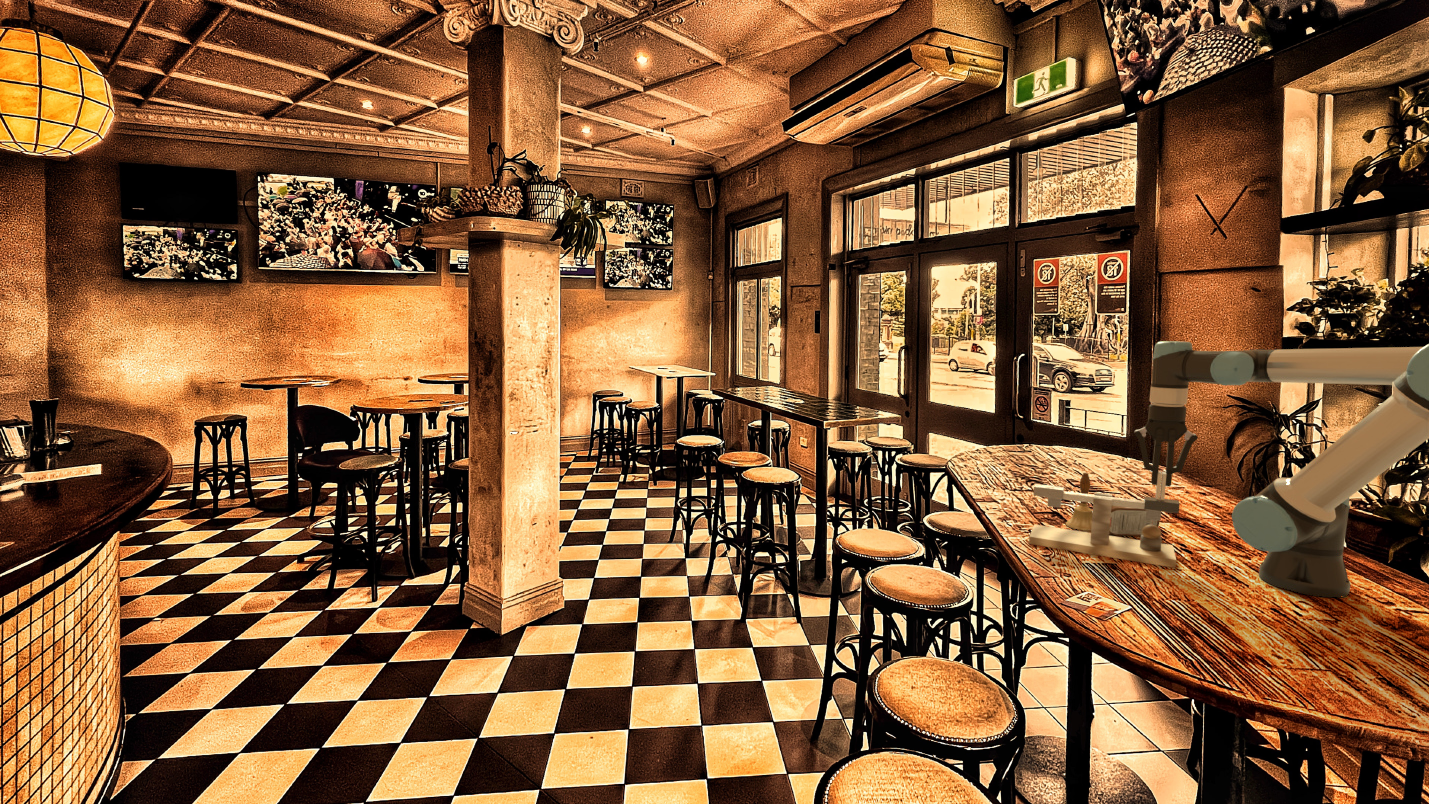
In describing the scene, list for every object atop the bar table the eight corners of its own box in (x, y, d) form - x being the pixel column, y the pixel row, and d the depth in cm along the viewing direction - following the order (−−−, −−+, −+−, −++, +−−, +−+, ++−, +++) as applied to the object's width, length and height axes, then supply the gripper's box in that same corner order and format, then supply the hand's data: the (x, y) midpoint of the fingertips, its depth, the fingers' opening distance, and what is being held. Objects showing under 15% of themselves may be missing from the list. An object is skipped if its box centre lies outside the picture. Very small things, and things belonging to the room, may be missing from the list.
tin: (1153, 534, 178) (1156, 504, 177) (1160, 537, 175) (1162, 508, 174) (1097, 532, 180) (1099, 503, 179) (1102, 536, 177) (1104, 506, 176)
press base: (1172, 552, 164) (1176, 499, 162) (1175, 567, 154) (1180, 511, 152) (1033, 531, 181) (1036, 483, 179) (1028, 543, 171) (1032, 492, 169)
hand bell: (1103, 532, 180) (1107, 477, 178) (1071, 530, 182) (1075, 475, 180) (1092, 523, 188) (1096, 470, 186) (1061, 521, 190) (1065, 469, 188)
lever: (1176, 519, 159) (1178, 500, 158) (1177, 523, 156) (1179, 503, 155) (1034, 501, 176) (1035, 483, 175) (1032, 504, 173) (1033, 486, 172)
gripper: (1199, 404, 156) (1191, 498, 159) (1135, 401, 163) (1128, 491, 166) (1203, 408, 149) (1194, 505, 152) (1135, 404, 156) (1128, 497, 159)
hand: (1159, 498), depth 159 cm, fingers closed
